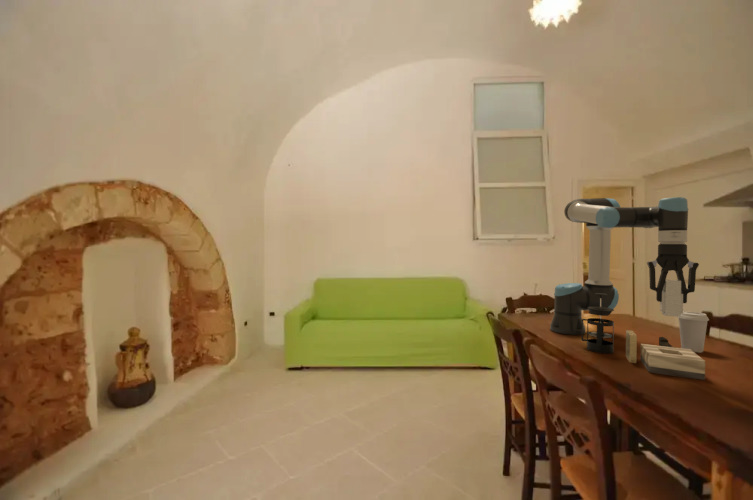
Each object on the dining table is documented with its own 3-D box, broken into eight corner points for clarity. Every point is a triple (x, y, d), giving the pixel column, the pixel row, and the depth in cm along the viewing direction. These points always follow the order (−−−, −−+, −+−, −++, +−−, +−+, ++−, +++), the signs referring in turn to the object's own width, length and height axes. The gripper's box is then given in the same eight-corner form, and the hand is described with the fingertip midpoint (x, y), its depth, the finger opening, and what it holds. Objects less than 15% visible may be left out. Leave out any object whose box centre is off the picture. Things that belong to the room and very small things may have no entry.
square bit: (662, 313, 120) (662, 279, 120) (677, 314, 118) (677, 279, 118) (665, 315, 116) (665, 280, 116) (680, 316, 115) (681, 281, 114)
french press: (616, 349, 140) (617, 293, 139) (615, 355, 132) (616, 295, 132) (582, 344, 147) (583, 290, 146) (580, 349, 139) (581, 293, 139)
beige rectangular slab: (625, 356, 132) (626, 330, 132) (632, 356, 131) (632, 330, 131) (629, 362, 125) (629, 334, 124) (636, 363, 124) (636, 335, 124)
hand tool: (681, 361, 127) (681, 348, 127) (667, 359, 129) (667, 346, 129) (669, 347, 143) (669, 336, 143) (656, 346, 145) (657, 335, 145)
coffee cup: (715, 353, 134) (716, 315, 134) (690, 353, 135) (691, 315, 134) (693, 346, 144) (694, 310, 144) (670, 346, 144) (670, 310, 144)
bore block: (640, 359, 127) (640, 343, 127) (690, 366, 121) (690, 349, 120) (649, 372, 115) (649, 354, 115) (704, 380, 108) (705, 361, 108)
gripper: (643, 243, 118) (642, 311, 118) (710, 243, 110) (708, 316, 110) (638, 243, 124) (637, 307, 125) (701, 243, 116) (700, 312, 117)
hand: (671, 311), depth 117 cm, fingers closed on square bit, 4 cm apart
